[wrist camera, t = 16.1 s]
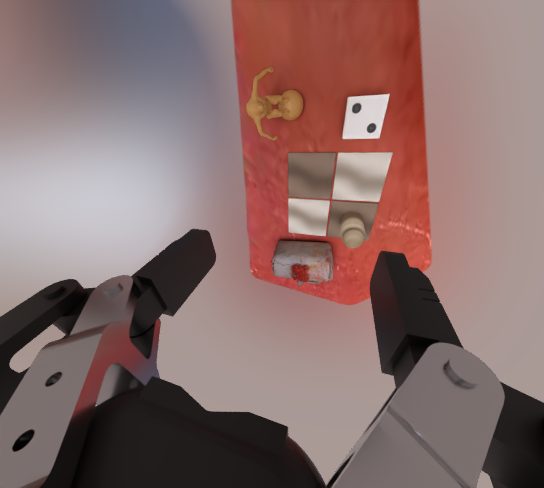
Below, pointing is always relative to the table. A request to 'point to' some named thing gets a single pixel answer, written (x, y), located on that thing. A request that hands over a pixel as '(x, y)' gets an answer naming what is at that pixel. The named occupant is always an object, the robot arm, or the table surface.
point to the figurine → (287, 104)
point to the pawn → (352, 229)
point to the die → (364, 116)
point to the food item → (303, 261)
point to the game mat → (347, 186)
